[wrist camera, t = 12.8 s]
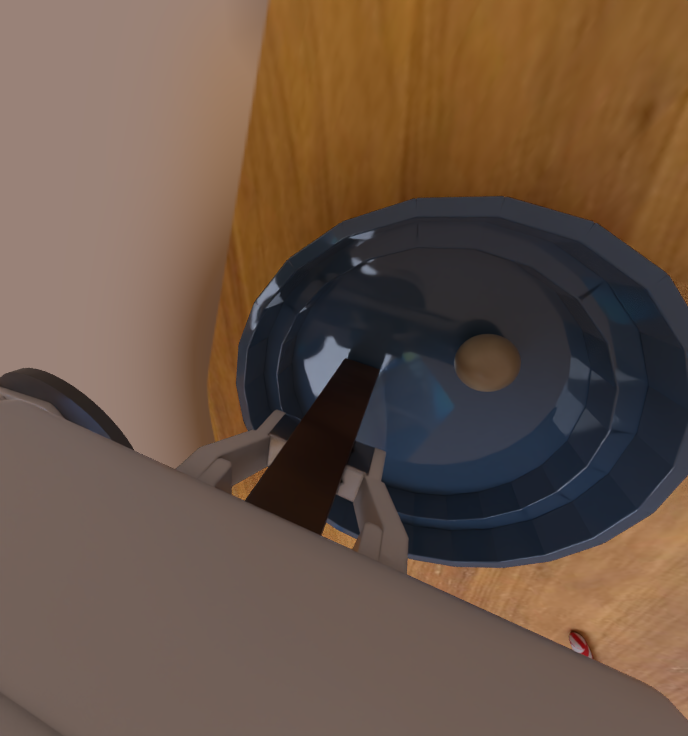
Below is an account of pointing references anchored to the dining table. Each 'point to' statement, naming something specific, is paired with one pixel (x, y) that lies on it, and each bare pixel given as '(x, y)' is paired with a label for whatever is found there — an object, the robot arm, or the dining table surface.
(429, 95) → the dining table surface
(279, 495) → the stick
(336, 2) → the dining table surface
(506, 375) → the bead
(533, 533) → the bowl
